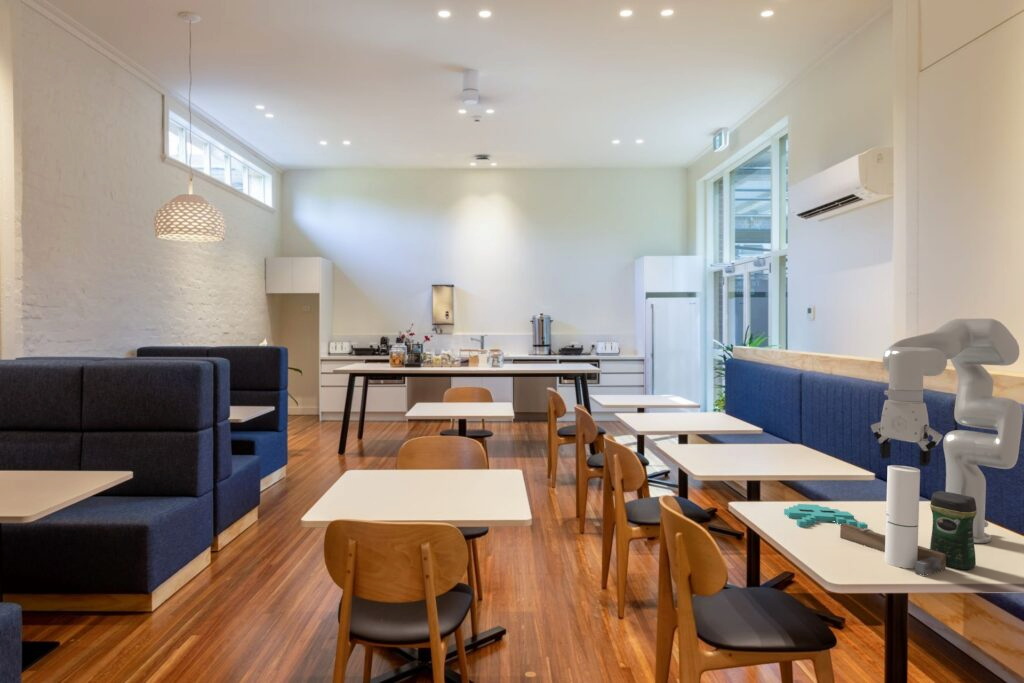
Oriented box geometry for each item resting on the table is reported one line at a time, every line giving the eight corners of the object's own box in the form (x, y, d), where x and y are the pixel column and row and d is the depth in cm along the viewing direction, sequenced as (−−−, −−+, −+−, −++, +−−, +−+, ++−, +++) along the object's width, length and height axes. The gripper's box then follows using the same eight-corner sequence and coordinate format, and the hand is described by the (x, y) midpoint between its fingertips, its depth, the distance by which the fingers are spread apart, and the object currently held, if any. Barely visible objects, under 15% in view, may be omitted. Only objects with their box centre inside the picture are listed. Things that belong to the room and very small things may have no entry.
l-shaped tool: (844, 536, 178) (845, 522, 177) (945, 569, 154) (946, 552, 154) (822, 541, 173) (823, 526, 173) (923, 576, 149) (924, 559, 149)
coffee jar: (979, 566, 156) (982, 495, 156) (967, 573, 151) (969, 500, 151) (937, 554, 164) (939, 487, 164) (924, 560, 160) (926, 491, 159)
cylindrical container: (910, 559, 160) (913, 466, 160) (922, 570, 153) (925, 472, 153) (880, 556, 162) (883, 464, 161) (890, 567, 155) (893, 470, 154)
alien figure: (867, 531, 184) (838, 512, 204) (867, 524, 184) (838, 505, 204) (799, 528, 186) (777, 509, 206) (799, 521, 186) (777, 502, 206)
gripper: (864, 393, 162) (863, 456, 163) (933, 401, 147) (932, 470, 148) (880, 392, 166) (879, 453, 166) (950, 399, 151) (948, 466, 151)
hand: (904, 461), depth 157 cm, fingers open, 9 cm apart
